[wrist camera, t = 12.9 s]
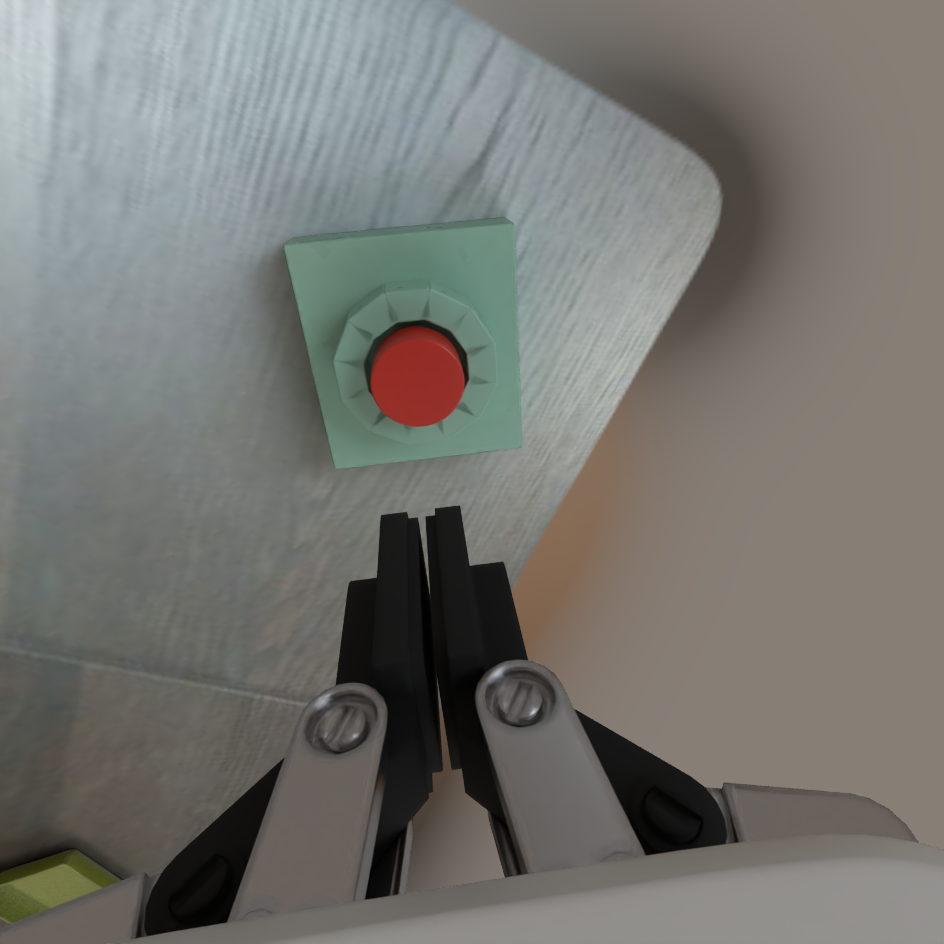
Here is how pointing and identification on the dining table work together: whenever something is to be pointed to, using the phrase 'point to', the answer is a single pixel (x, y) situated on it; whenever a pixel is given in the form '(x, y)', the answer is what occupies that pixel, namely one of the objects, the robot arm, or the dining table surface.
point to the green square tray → (49, 884)
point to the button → (417, 376)
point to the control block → (405, 305)
